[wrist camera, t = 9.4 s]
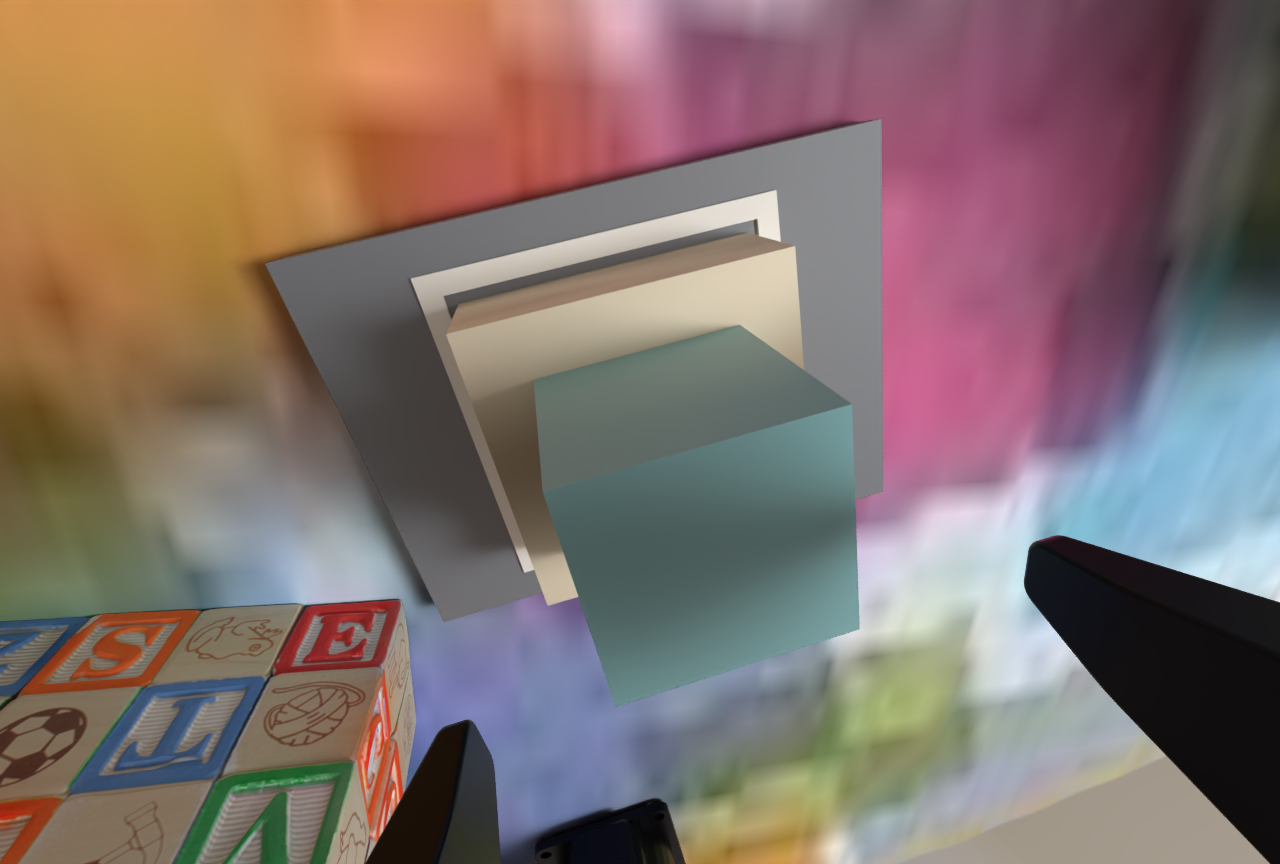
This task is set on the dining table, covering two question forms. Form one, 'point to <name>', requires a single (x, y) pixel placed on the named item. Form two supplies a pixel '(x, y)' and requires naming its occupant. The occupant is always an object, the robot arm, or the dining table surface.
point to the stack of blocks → (204, 735)
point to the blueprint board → (553, 249)
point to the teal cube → (700, 507)
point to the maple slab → (607, 349)
